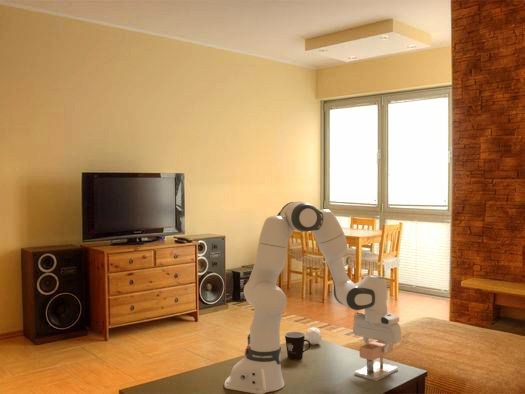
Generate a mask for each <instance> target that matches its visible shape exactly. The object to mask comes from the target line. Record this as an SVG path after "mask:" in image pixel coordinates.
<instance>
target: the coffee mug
mask: <svg viewBox="0 0 525 394" xmlns="http://www.w3.org/2000/svg"><path fill="white" fill-rule="evenodd" d="M305 335H306V333H304V332H300V331H289V332H286V333H285V334H284V339H285V346H286V355H287V359H289V360H291V361H298V360H302V359H303V357H304V355H303V354H304V352H306V351H308V350H309V349H310V348H311V344H310V342H309V341H308V340H306V337H305ZM305 342H307V343H308V347H307V348H306V349H304V348H305V347H304V346H305Z"/></svg>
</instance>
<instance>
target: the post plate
mask: <svg viewBox="0 0 525 394" xmlns="http://www.w3.org/2000/svg"><path fill="white" fill-rule="evenodd" d="M398 370H399V367H398V366H396V365H392V364H387V363H384V356H382V357H379V361H375V362H374V360H373V361H372V360H368V359H366V366H363V367H362V368H360V369H357V370H355V371H354V373H353V374H354V375H355V376H357V377H360V378H363V379H364V378H365V379H368V380H371V381H374V382H378V381H379V380H381V379H384V378H385V377H387V376H389V375H391V374H394V373H395V372H397V371H398Z"/></svg>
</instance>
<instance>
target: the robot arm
mask: <svg viewBox="0 0 525 394" xmlns="http://www.w3.org/2000/svg"><path fill="white" fill-rule="evenodd" d="M294 231H295V232H296V231H297V232H303V233H306V232H307V233H308V232H311V233H312V235H313V236H314V239H315V241H316V244H317V246H318V249H319V250H320V252H321V254H322V256H323V258H324V260H325V263H326V266H327V268H328V270H329V274H330V276H331V279H332V283H333V297H334V299H335V301H337V302H338V303H339V304H341V305H342V306H345V307H347V308H349V309H351V310H354V311H358V312H356V313H354V315H353V325H352V327H353V328H352V332H353V334H354V336H357V337H361V338H362V339H363V343H364V345H366V344H368V343H370V341H369V339H371V340H374V341H375V340H379V341H384V344H385V346H384V347H383V348H382V352H384V353H386V352H387V348H388V346H389V344H390V343H393V345H397V344H399V343H400V342H402V330H401V325H400V324H399V322H400V317H399V316H398V315H396V314H394V313H392V312H391V311H389V310H388V305H387V302H388V301H387V300H388V285H387V281H386V278H384V277H382V276H380V275H376V274H367V275H365V276H364V278H362V279H361V280H359V281H357V282H355V283H354V281H352V279H350V278H349V276H348V273H347V270H346V267H345V265H344V262H343V257H344V255H346V253H347V251H348V247H349V246H348V242H347V238H346V236H345V233H344V231H343V228H342V226H341V224H340V222H339V220H338V219H337V217H336V215H335V214H334V213H333V211H331V210H330V209H325V208H324V209H318V208H317V207H315V205H313V204H311V203H307V202H303V201H290V202H288V203H286V204H285V205H283V207H282V208H281V210H280V211H279V212H278V213H277V215H271V216H268V217H266V219H265V220H264V223H263V225H262V228H261V232H260V236H259V239H258V245H257V250H256V256H255V260H254V261H255V262H254V265H253V268H252V271H251V273H250V276H249V279H248V281H247V282H246V283H245V286H244V287H243V295H244V299H245V300H246V302H247V303H248V304H249V305H250V306H251V307H253V309H254V310H253V318H252V323H251V324H250V327H249V334H250V344H249V345H248V344H247V346H246V347H245V350H244V355H245V356H244V357H243V358H242V359H240V360H239V361H238V362H237V363H235V364H234V365H233V367H232V369H231V371H230V375H229V376H228V377H227V378H226V379H225V381H224V385H223V387H224V388H225V389H227V390H233V391H239V392H244V393H250V394H266V393H269V392H276V391H278V390H281V389H282V388H284V386H285V385H286V384H285V380H284V378H283V373H282V366H281V362H282V348H281V346H280V344H281V343H280V342H281V341H280V336H281V335H280V334H281V333H280V329H281V328H280V327H281V320H282V316H283V312H284V310H285V309H286V307H287V305H288V300H287V295H286V294H285V292H284V291H283V289H281V287H279V286H278V285H277V281H278V279H279V277H280V274H281V272H282V271H283V270H284V269H285V265H286V264H285V263H286V259H287V253H288V247H289V239H290V237H291V235H292V233H293V232H294ZM360 310H361V311H362V310H364V312H359V311H360Z"/></svg>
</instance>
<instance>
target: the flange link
mask: <svg viewBox="0 0 525 394" xmlns="http://www.w3.org/2000/svg"><path fill="white" fill-rule="evenodd" d="M384 346H385V344H384V341H379V340H375V339H374V340H373V341H371V342H369V343H368V344H364V345H361V346H360V347H359V358H361V359H365V360H367V359H368V360H372V361H373V360H377V359H380V357H382V356H383V357H384V356H386V355H388V354H391V353H392V352H394V344H393V343H390V344H389V346H388V348H387V352H386V353H384V352H382V348H383V347H384Z"/></svg>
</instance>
